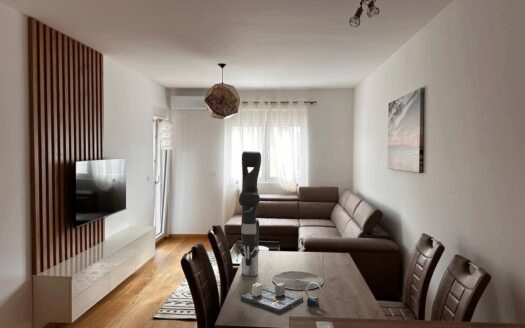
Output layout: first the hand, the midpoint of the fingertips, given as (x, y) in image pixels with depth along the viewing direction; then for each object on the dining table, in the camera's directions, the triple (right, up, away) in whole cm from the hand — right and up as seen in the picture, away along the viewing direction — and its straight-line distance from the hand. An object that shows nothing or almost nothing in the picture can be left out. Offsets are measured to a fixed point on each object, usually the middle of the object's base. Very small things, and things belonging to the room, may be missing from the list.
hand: (248, 265), depth 190 cm
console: (+12, -16, -4) cm, 20 cm away
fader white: (+4, -14, -3) cm, 15 cm away
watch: (+32, -17, -8) cm, 37 cm away
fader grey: (+16, -14, -2) cm, 21 cm away
